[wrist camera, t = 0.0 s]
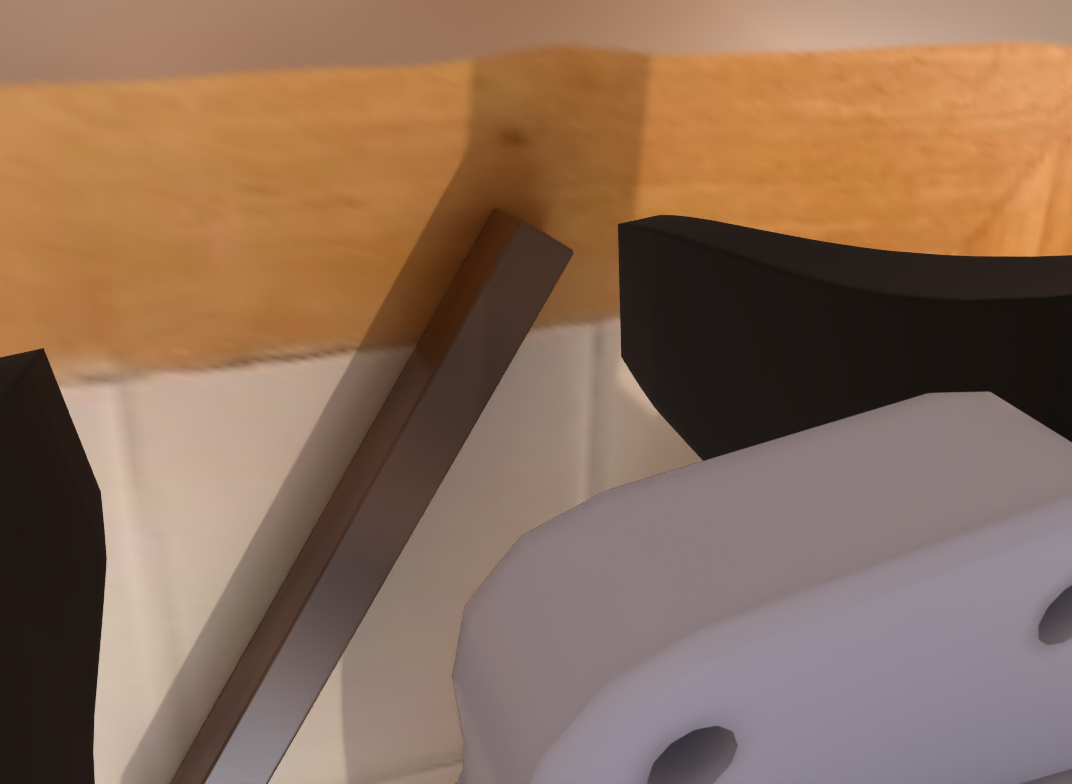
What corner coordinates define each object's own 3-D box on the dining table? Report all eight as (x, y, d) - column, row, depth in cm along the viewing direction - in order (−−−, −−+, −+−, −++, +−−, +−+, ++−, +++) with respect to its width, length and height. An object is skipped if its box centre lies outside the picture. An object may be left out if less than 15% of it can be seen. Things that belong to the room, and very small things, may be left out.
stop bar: (184, 870, 26) (184, 930, 24) (126, 860, 25) (122, 922, 23) (546, 236, 23) (576, 251, 22) (494, 205, 23) (520, 218, 21)
